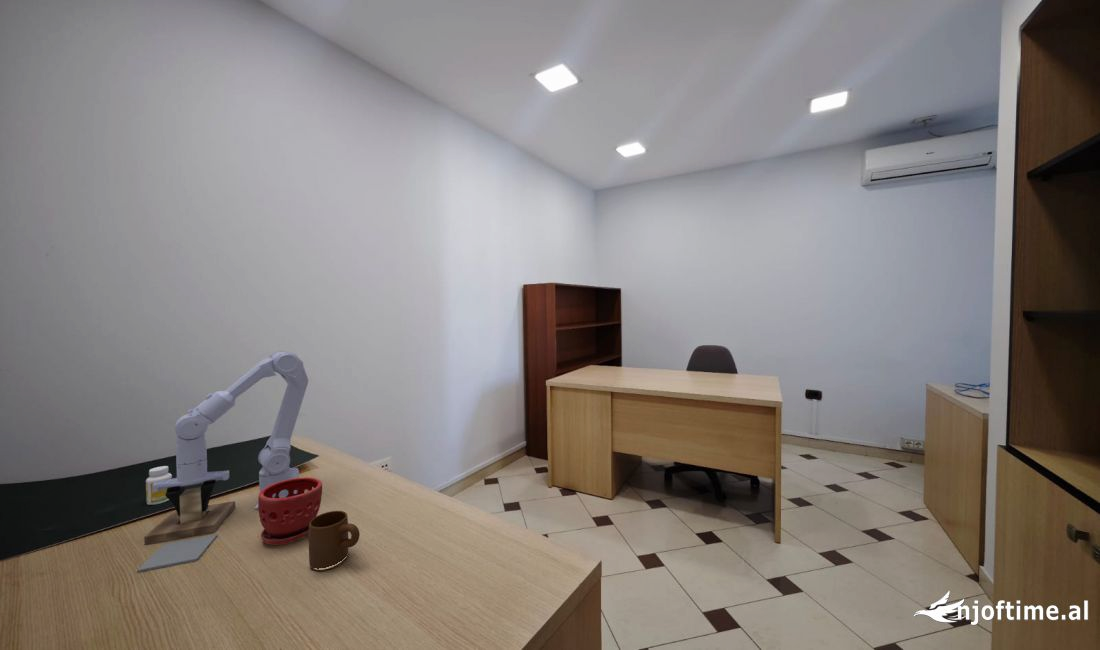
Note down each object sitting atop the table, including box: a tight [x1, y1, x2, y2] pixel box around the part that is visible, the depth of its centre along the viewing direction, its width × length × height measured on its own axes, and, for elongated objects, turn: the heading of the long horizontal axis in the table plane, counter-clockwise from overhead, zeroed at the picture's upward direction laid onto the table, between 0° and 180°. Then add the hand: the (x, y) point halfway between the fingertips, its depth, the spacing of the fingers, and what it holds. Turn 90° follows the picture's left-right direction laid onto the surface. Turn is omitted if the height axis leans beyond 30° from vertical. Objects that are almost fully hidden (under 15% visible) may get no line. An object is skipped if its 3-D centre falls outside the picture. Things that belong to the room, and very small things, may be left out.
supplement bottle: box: [145, 465, 173, 506], centre depth 111 cm, size 5×5×10 cm
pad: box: [136, 534, 218, 573], centre depth 86 cm, size 10×10×1 cm
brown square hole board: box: [143, 500, 236, 546], centre depth 98 cm, size 13×13×2 cm
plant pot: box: [257, 477, 323, 546], centre depth 94 cm, size 13×13×12 cm
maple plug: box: [180, 486, 206, 524], centre depth 98 cm, size 4×4×9 cm
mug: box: [307, 510, 360, 569], centre depth 83 cm, size 12×8×9 cm, turn 73°
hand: (193, 512), depth 98 cm, fingers closed on maple plug, 4 cm apart
